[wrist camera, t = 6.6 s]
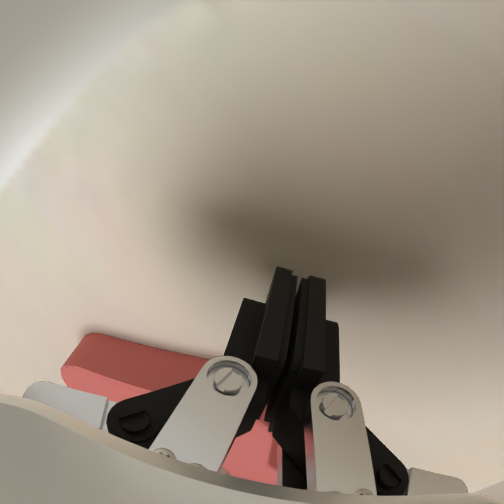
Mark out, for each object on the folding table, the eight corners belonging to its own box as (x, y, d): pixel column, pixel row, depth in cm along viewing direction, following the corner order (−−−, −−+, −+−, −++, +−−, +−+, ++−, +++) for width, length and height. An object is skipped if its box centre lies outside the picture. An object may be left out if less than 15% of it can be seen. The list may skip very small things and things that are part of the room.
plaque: (287, 520, 20) (127, 482, 22) (292, 485, 23) (140, 451, 26) (341, 436, 11) (44, 363, 14) (341, 370, 15) (79, 319, 17)
